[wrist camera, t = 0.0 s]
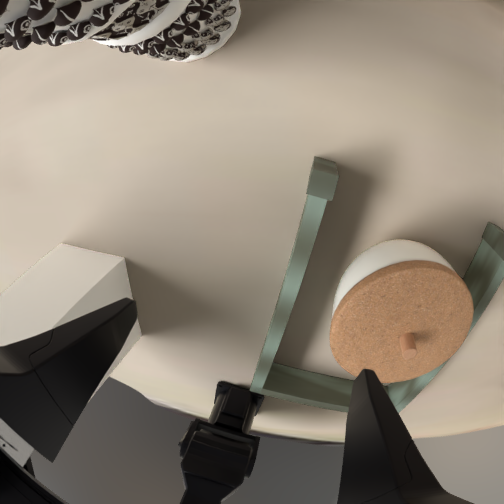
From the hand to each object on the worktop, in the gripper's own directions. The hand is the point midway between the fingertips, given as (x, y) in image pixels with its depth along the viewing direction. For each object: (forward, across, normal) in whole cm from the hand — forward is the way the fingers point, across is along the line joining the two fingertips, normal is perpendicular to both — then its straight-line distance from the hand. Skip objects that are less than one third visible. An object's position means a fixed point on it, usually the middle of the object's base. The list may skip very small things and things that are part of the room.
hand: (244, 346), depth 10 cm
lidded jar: (+15, -10, +3) cm, 18 cm away
